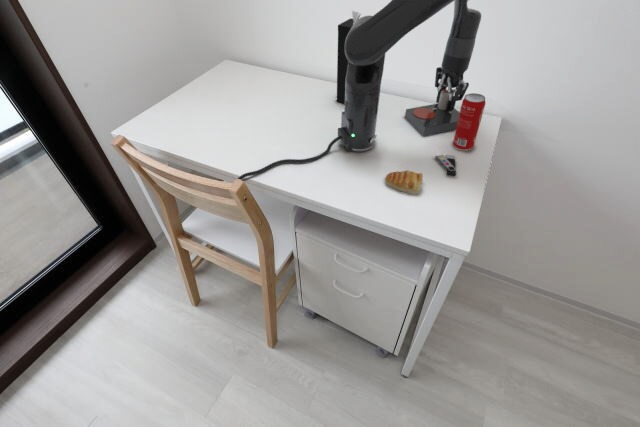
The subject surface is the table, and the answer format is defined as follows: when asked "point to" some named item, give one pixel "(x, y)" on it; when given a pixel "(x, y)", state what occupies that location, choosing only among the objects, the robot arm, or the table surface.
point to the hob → (433, 120)
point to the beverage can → (469, 121)
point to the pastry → (405, 181)
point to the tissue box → (343, 55)
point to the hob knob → (443, 99)
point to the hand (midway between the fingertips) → (444, 106)
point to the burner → (424, 113)
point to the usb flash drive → (447, 164)
